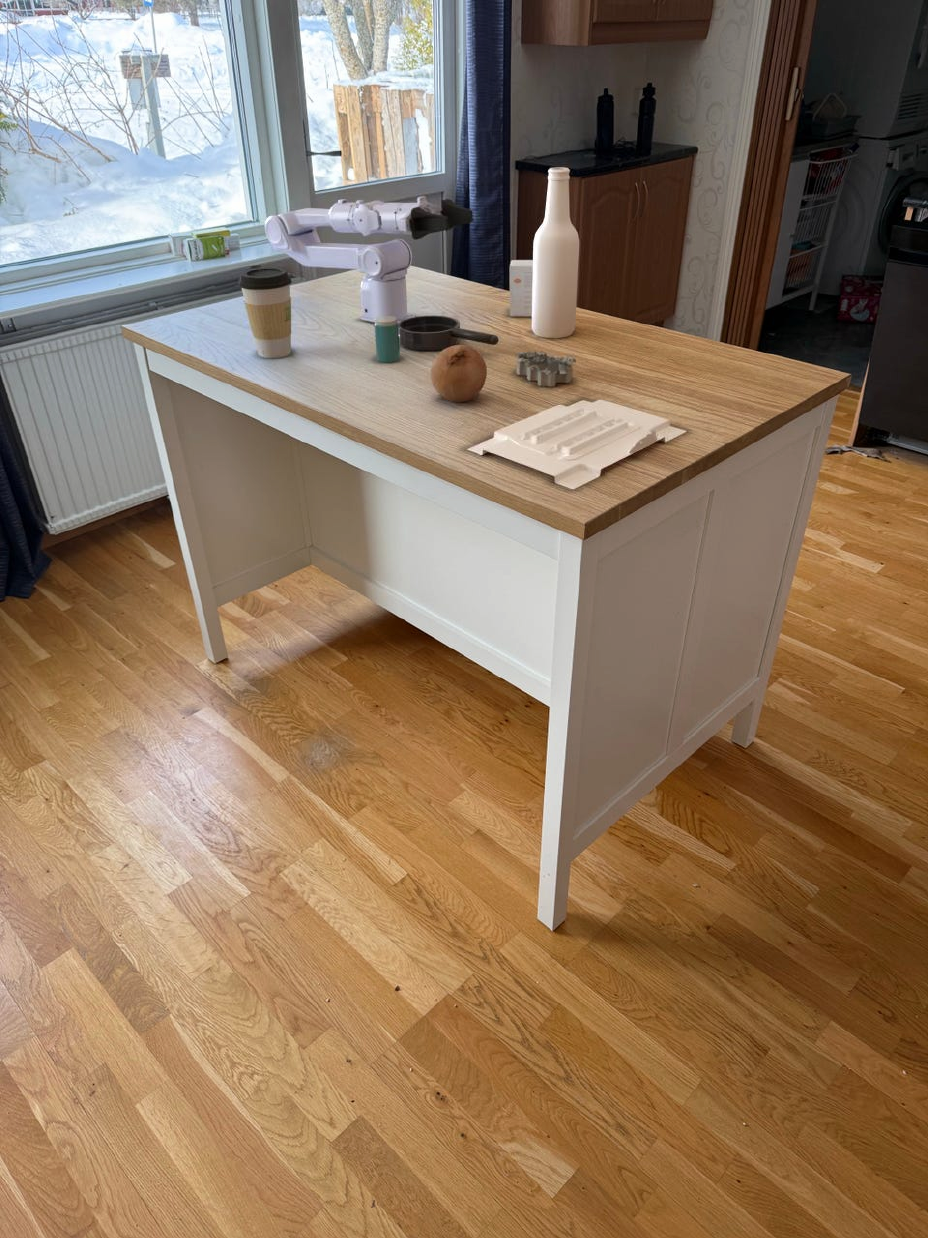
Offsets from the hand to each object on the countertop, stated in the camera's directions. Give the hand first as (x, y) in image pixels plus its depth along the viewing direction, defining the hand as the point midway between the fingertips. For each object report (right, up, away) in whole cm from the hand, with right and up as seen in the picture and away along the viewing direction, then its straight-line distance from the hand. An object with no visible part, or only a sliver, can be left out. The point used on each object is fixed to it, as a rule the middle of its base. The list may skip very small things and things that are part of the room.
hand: (459, 219), depth 170 cm
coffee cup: (-36, -24, +4) cm, 44 cm away
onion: (0, -39, -19) cm, 43 cm away
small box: (+15, -10, +24) cm, 30 cm away
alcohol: (+19, -18, +12) cm, 29 cm away
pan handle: (+3, -23, +1) cm, 23 cm away
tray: (+18, -49, -35) cm, 63 cm away
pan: (-6, -21, +8) cm, 23 cm away
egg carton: (+15, -33, -10) cm, 38 cm away
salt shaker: (-13, -27, 0) cm, 30 cm away
